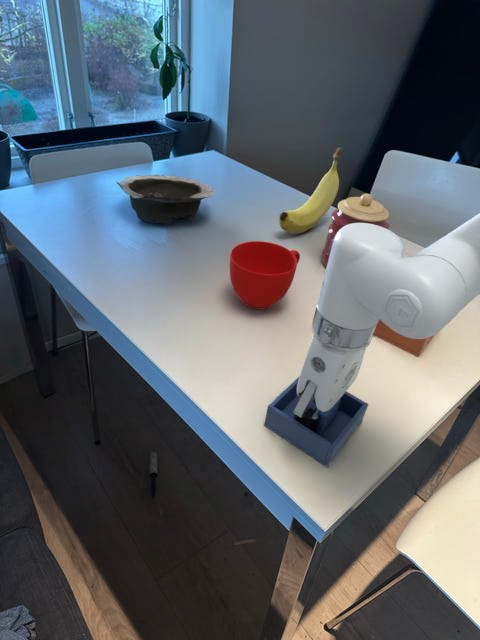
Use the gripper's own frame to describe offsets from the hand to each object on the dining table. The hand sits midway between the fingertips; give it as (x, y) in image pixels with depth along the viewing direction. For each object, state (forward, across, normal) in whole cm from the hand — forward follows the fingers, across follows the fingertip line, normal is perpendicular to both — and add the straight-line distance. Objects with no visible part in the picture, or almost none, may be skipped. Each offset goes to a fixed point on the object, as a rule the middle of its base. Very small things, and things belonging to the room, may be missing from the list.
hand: (314, 419), depth 66 cm
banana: (+1, +57, +37) cm, 68 cm away
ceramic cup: (+1, +22, +25) cm, 33 cm away
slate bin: (+1, 0, 0) cm, 1 cm away
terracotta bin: (+1, +32, -1) cm, 33 cm away
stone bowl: (+1, +36, +68) cm, 77 cm away
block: (0, 0, 0) cm, 0 cm away
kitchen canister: (+1, +48, +19) cm, 52 cm away
